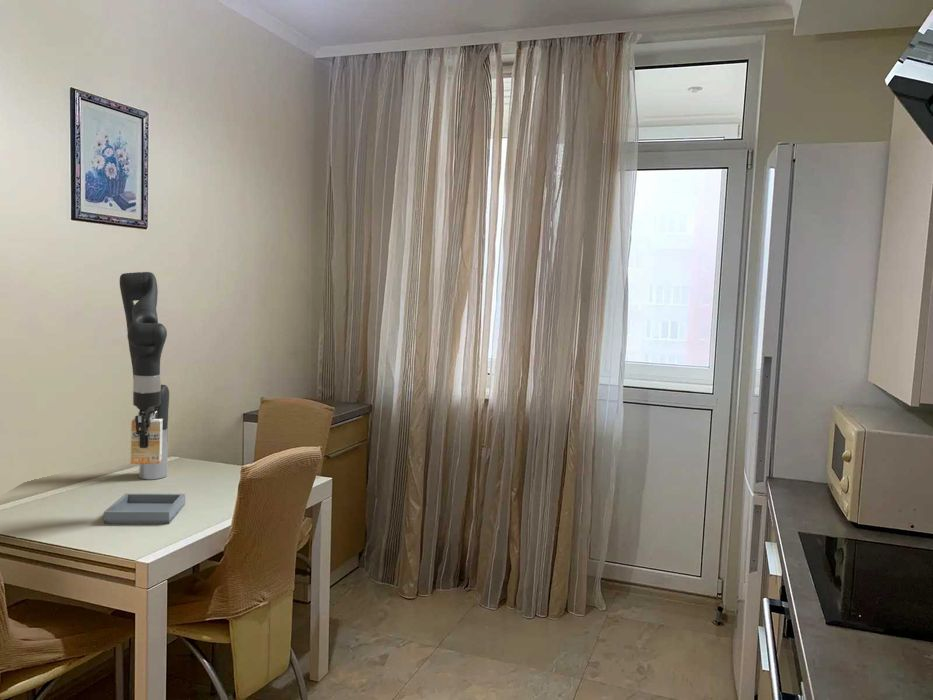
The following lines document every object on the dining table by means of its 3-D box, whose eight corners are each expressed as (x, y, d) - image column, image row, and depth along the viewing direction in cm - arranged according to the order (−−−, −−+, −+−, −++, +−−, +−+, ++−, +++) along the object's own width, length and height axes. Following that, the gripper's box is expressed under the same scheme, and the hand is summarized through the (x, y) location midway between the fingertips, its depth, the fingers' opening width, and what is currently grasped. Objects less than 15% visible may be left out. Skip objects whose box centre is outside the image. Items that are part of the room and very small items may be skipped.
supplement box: (130, 464, 210) (130, 421, 209) (133, 460, 215) (133, 418, 213) (160, 464, 212) (160, 421, 211) (162, 460, 217) (162, 417, 216)
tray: (125, 504, 223) (125, 493, 222) (185, 504, 225) (185, 493, 225) (104, 523, 205) (104, 512, 204) (169, 523, 207) (169, 512, 207)
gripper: (141, 385, 218) (141, 439, 220) (125, 393, 204) (125, 451, 205) (167, 386, 219) (166, 440, 221) (152, 393, 205) (152, 451, 206)
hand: (146, 445), depth 213 cm, fingers closed on supplement box, 5 cm apart
